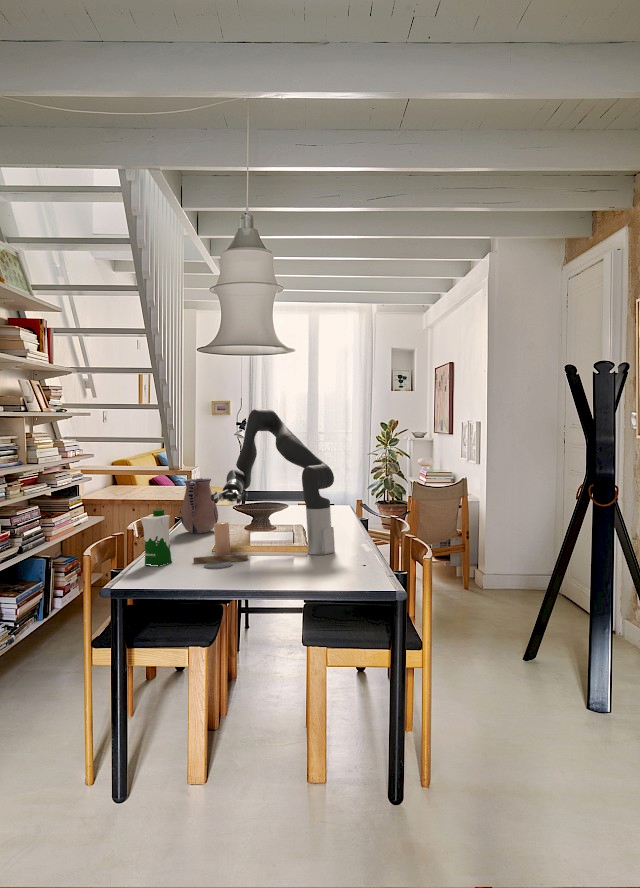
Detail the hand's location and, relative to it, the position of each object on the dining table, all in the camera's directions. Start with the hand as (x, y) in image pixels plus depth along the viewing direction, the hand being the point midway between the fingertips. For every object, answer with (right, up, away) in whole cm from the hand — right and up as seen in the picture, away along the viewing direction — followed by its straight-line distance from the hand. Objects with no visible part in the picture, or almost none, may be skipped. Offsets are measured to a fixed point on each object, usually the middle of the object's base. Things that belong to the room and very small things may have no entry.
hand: (226, 501), depth 282 cm
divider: (0, -21, -15) cm, 26 cm away
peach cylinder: (0, -21, -7) cm, 22 cm away
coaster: (0, -22, -22) cm, 31 cm away
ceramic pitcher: (-20, -19, +55) cm, 62 cm away
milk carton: (-24, -23, -13) cm, 36 cm away
